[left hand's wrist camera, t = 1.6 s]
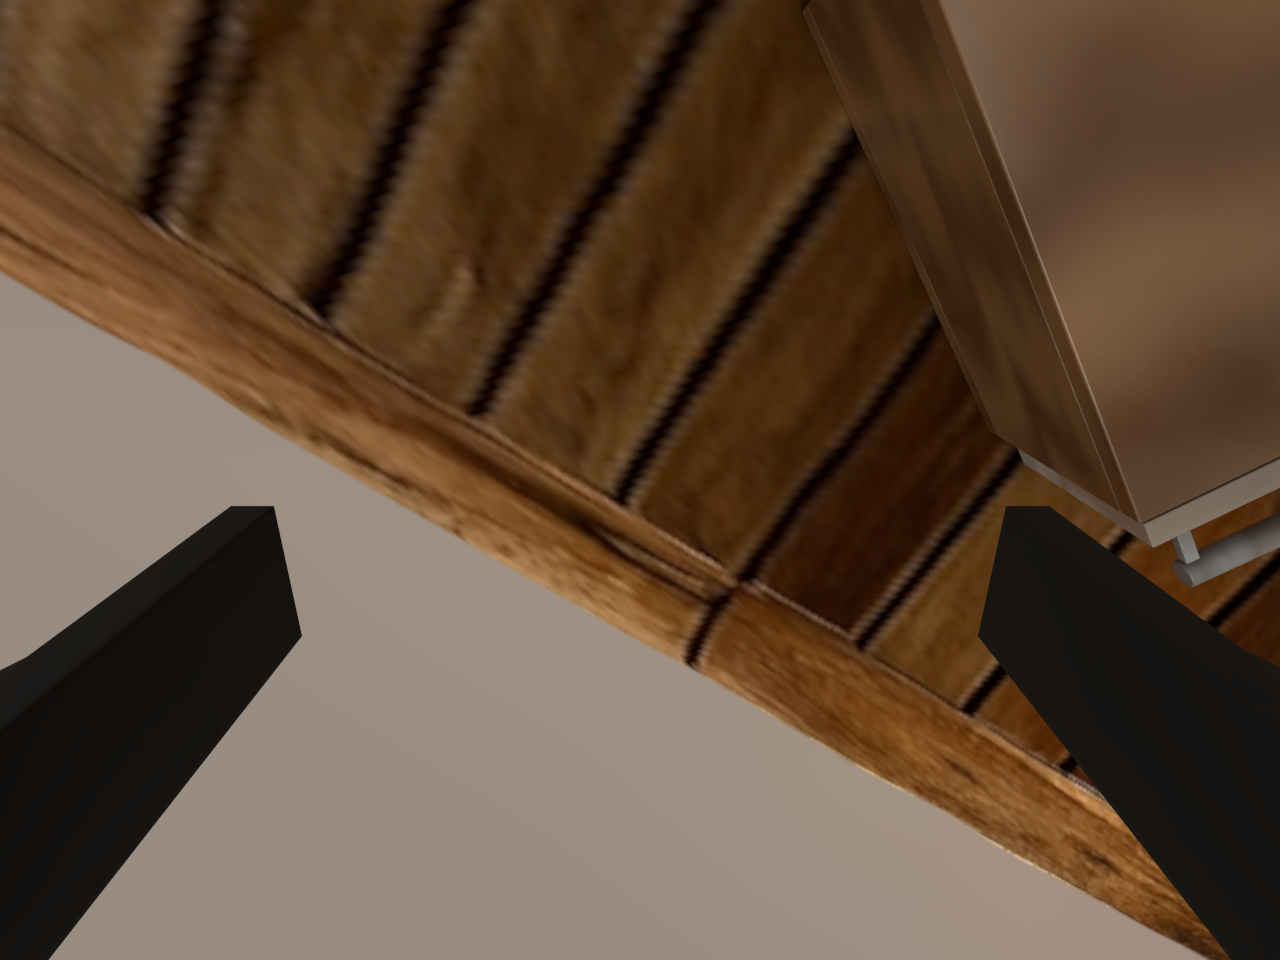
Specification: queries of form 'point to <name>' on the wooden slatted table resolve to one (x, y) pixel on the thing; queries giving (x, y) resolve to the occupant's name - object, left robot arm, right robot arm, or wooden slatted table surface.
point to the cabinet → (1087, 219)
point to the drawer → (1196, 522)
